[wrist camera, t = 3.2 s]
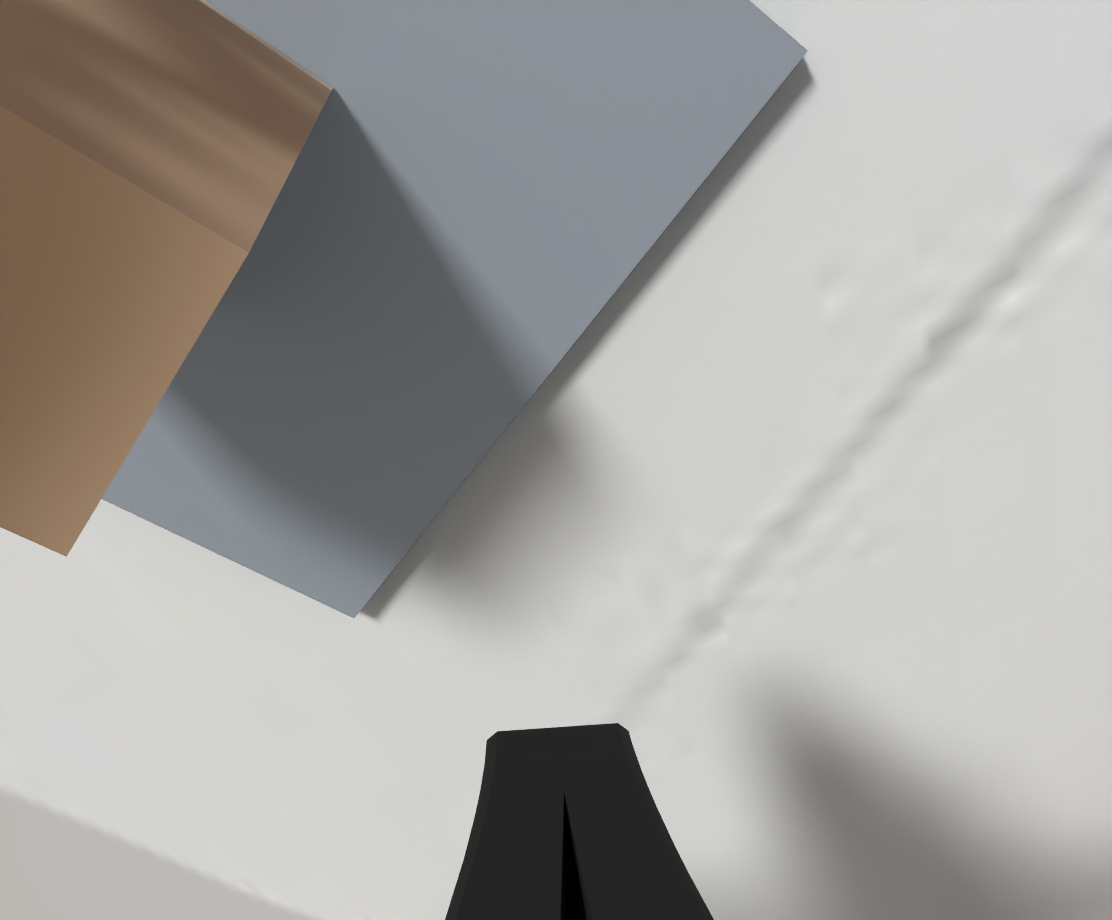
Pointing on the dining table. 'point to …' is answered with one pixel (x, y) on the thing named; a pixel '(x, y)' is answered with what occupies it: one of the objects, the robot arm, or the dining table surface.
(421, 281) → the light grey mat
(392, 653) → the dining table surface
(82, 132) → the walnut block
